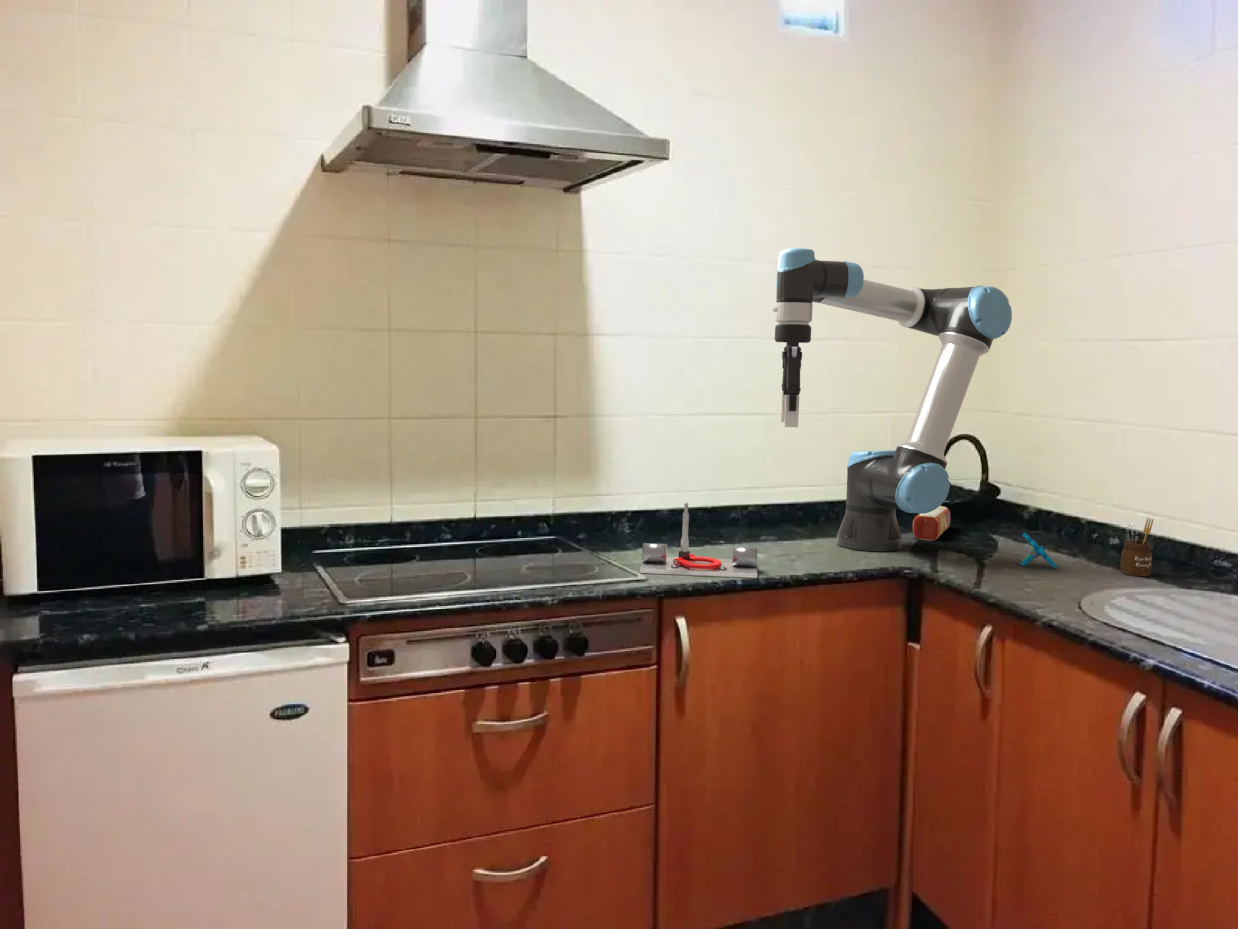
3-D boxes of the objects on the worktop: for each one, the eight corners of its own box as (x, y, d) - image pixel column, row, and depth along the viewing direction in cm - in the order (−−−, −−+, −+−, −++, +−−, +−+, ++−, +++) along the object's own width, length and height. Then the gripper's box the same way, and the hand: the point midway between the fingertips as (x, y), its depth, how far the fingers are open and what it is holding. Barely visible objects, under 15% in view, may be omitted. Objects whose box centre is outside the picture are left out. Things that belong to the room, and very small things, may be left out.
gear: (1062, 566, 220) (1029, 531, 223) (1040, 584, 222) (1007, 548, 224) (1056, 563, 231) (1024, 529, 233) (1035, 580, 232) (1004, 546, 234)
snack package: (926, 527, 276) (927, 502, 275) (951, 529, 273) (953, 504, 272) (911, 539, 257) (912, 513, 256) (938, 542, 254) (940, 515, 253)
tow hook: (728, 566, 216) (691, 559, 222) (731, 505, 215) (693, 500, 220) (708, 573, 210) (670, 566, 215) (711, 510, 208) (672, 505, 213)
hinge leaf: (644, 560, 225) (645, 537, 225) (755, 564, 223) (756, 542, 222) (640, 573, 212) (640, 549, 212) (757, 578, 210) (758, 554, 209)
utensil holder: (1113, 572, 224) (1118, 517, 222) (1134, 570, 226) (1138, 516, 225) (1136, 577, 218) (1141, 522, 217) (1157, 575, 221) (1162, 520, 219)
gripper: (772, 324, 228) (768, 419, 231) (778, 322, 204) (774, 428, 206) (806, 325, 228) (802, 420, 230) (816, 322, 203) (812, 429, 205)
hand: (789, 424), depth 218 cm, fingers open, 13 cm apart
